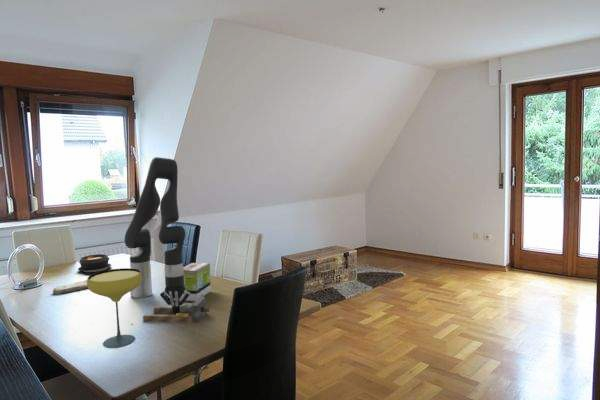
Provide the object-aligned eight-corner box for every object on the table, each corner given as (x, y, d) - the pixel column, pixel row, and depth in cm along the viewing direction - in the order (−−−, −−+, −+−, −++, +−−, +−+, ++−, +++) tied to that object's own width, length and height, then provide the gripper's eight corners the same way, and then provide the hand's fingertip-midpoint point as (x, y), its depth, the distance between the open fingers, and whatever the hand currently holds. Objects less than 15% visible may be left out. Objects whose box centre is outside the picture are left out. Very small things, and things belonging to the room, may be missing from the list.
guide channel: (143, 321, 173) (142, 305, 172) (155, 312, 184) (154, 296, 183) (204, 322, 170) (203, 306, 169) (213, 312, 181) (212, 297, 180)
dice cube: (184, 314, 180) (183, 303, 179) (195, 314, 180) (195, 303, 179) (180, 319, 175) (179, 307, 174) (192, 319, 175) (191, 307, 174)
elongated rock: (50, 295, 217) (56, 300, 210) (48, 285, 216) (55, 290, 209) (117, 276, 242) (125, 280, 236) (116, 267, 241) (124, 271, 235)
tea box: (198, 301, 197) (196, 270, 195) (178, 300, 199) (176, 269, 197) (211, 291, 211) (210, 262, 210) (192, 290, 213) (191, 262, 212)
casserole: (77, 268, 266) (76, 255, 265) (109, 263, 276) (108, 251, 275) (79, 277, 245) (78, 263, 244) (114, 272, 254) (113, 258, 253)
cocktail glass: (90, 356, 143) (85, 284, 140) (93, 336, 159) (88, 272, 157) (147, 346, 150) (142, 277, 147) (144, 328, 166) (140, 265, 164)
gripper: (155, 276, 172) (157, 317, 174) (186, 276, 171) (188, 318, 172) (162, 271, 180) (165, 310, 181) (192, 271, 178) (194, 311, 180)
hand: (176, 314), depth 177 cm, fingers closed
